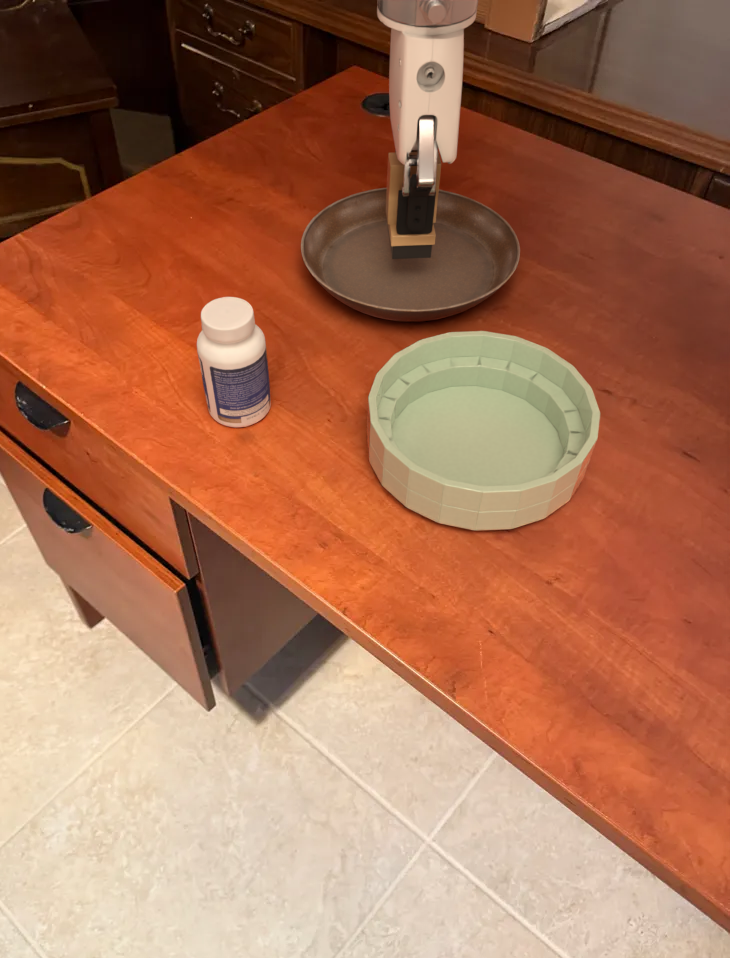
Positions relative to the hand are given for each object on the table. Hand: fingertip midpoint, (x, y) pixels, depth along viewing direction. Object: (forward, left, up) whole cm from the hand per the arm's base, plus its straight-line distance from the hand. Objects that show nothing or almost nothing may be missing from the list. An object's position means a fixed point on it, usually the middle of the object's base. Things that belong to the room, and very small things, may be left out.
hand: (411, 214), depth 76 cm
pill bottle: (+16, +18, -6) cm, 25 cm away
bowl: (-3, +24, -6) cm, 25 cm away
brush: (0, 0, -3) cm, 3 cm away
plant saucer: (0, 0, -6) cm, 6 cm away
